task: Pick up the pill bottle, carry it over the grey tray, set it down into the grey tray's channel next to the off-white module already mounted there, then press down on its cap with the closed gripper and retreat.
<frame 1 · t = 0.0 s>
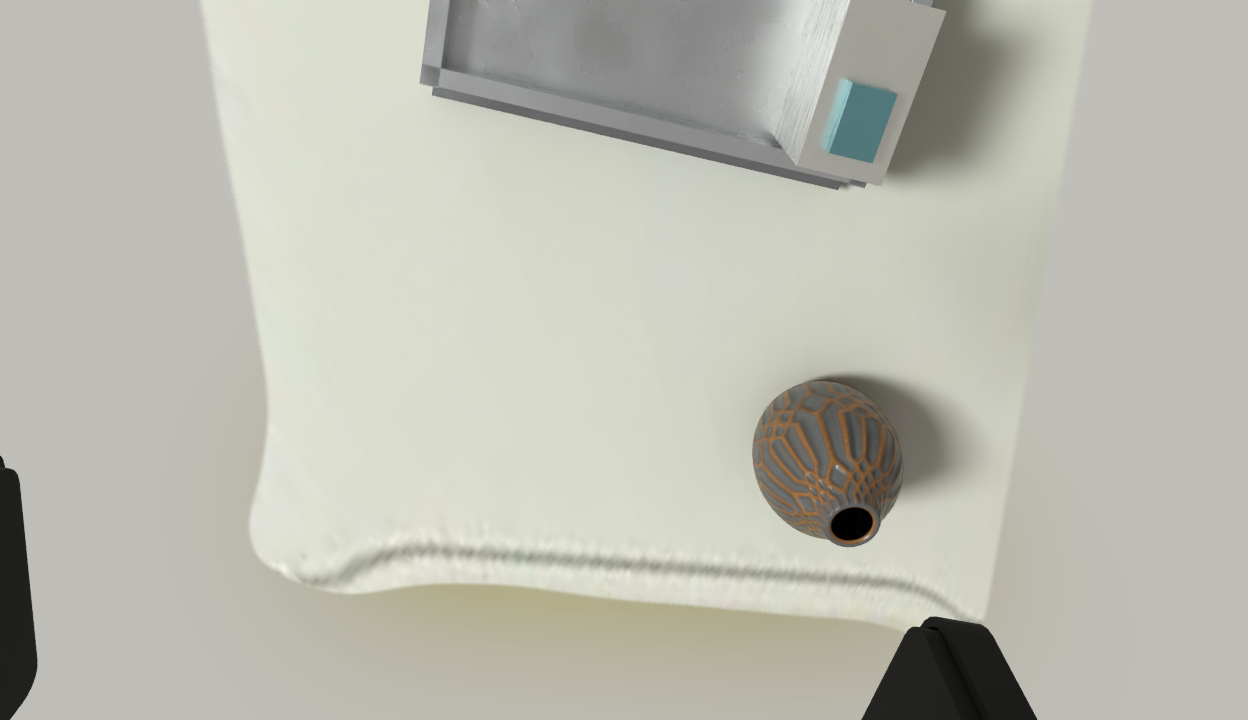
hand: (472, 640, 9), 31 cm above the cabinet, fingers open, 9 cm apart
grey tray: (668, 21, 36), on the cabinet
vase: (809, 418, 45), on the cabinet
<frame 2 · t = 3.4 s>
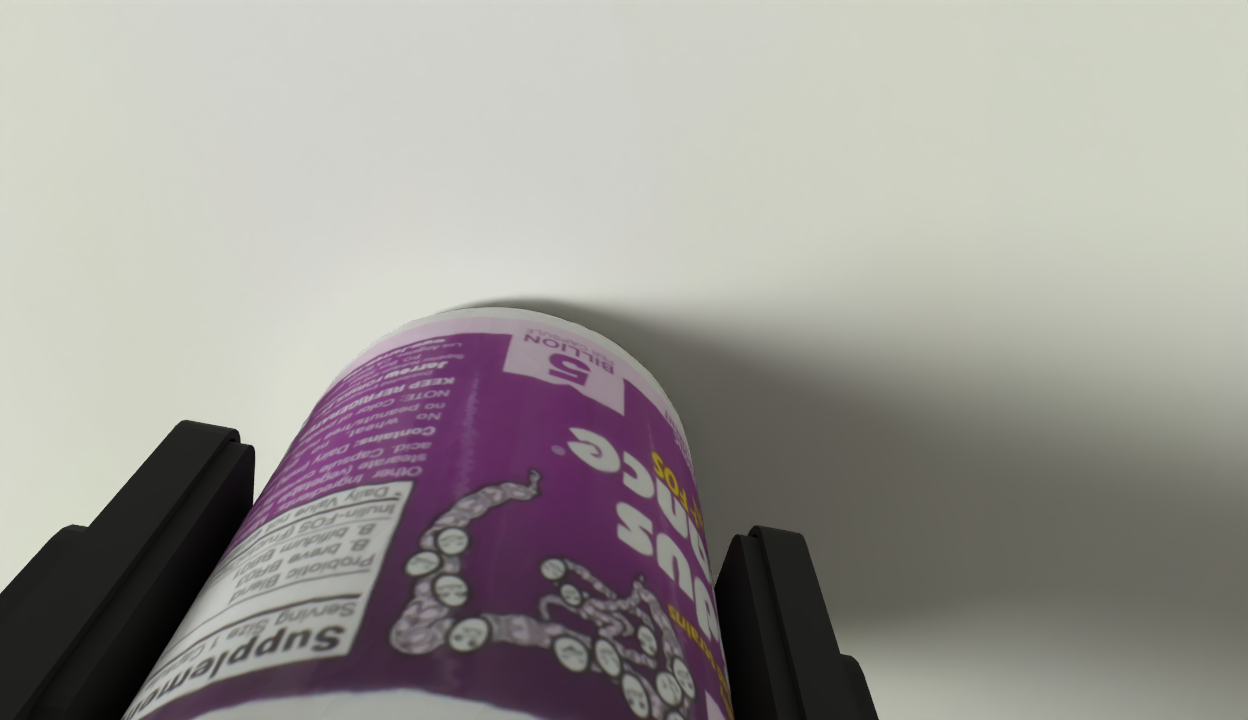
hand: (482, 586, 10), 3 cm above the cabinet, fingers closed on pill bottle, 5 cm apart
pill bottle: (507, 456, 12), on the cabinet, touching gripper
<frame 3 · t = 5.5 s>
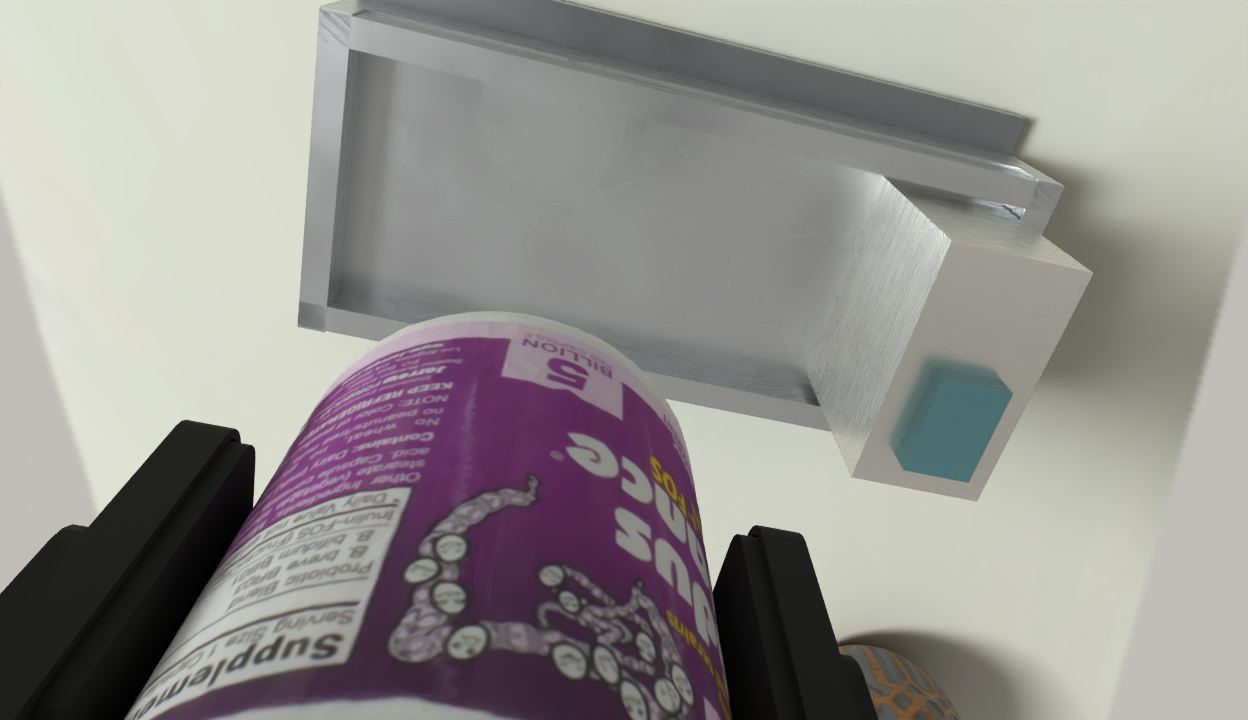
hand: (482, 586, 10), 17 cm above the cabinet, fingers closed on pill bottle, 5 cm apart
pill bottle: (505, 459, 12), point 14 cm above the cabinet, touching gripper
grey tray: (660, 211, 25), on the cabinet
vase: (846, 676, 34), on the cabinet
when the fingers open (7 cm above the cabinet, at t = 7.7 s): pill bottle drops 1 cm, resting on grey tray.
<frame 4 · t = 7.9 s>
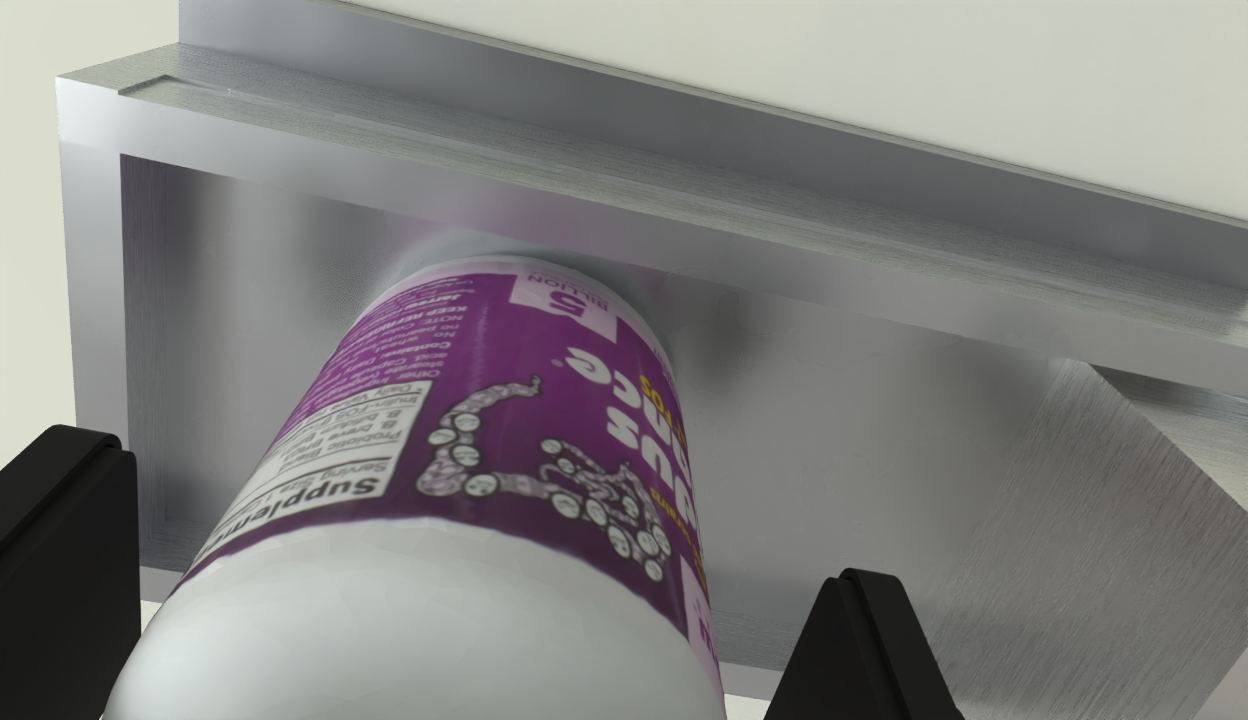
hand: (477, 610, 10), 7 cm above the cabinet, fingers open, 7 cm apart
pill bottle: (511, 396, 14), point 3 cm above the cabinet, touching grey tray
grey tray: (687, 368, 16), on the cabinet
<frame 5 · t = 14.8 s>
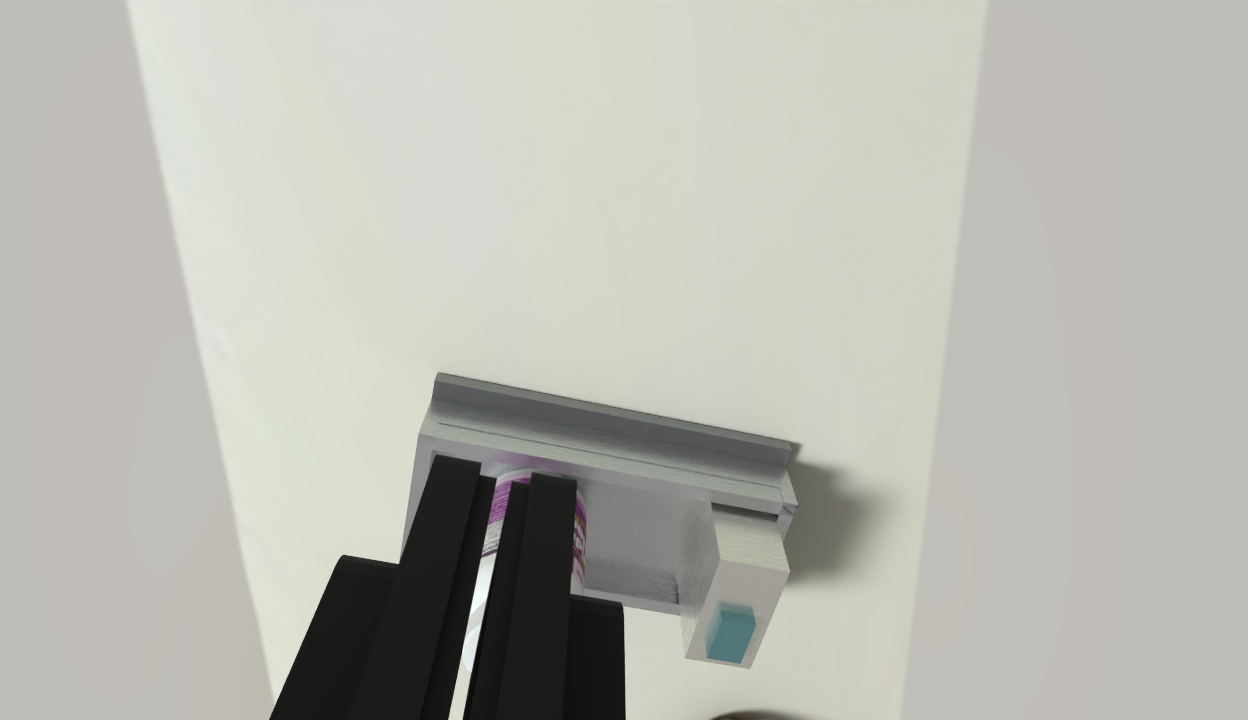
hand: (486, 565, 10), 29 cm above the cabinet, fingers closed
pill bottle: (534, 505, 42), point 3 cm above the cabinet, touching grey tray
grey tray: (596, 488, 45), on the cabinet
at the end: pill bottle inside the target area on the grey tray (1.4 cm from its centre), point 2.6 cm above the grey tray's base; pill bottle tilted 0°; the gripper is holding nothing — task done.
